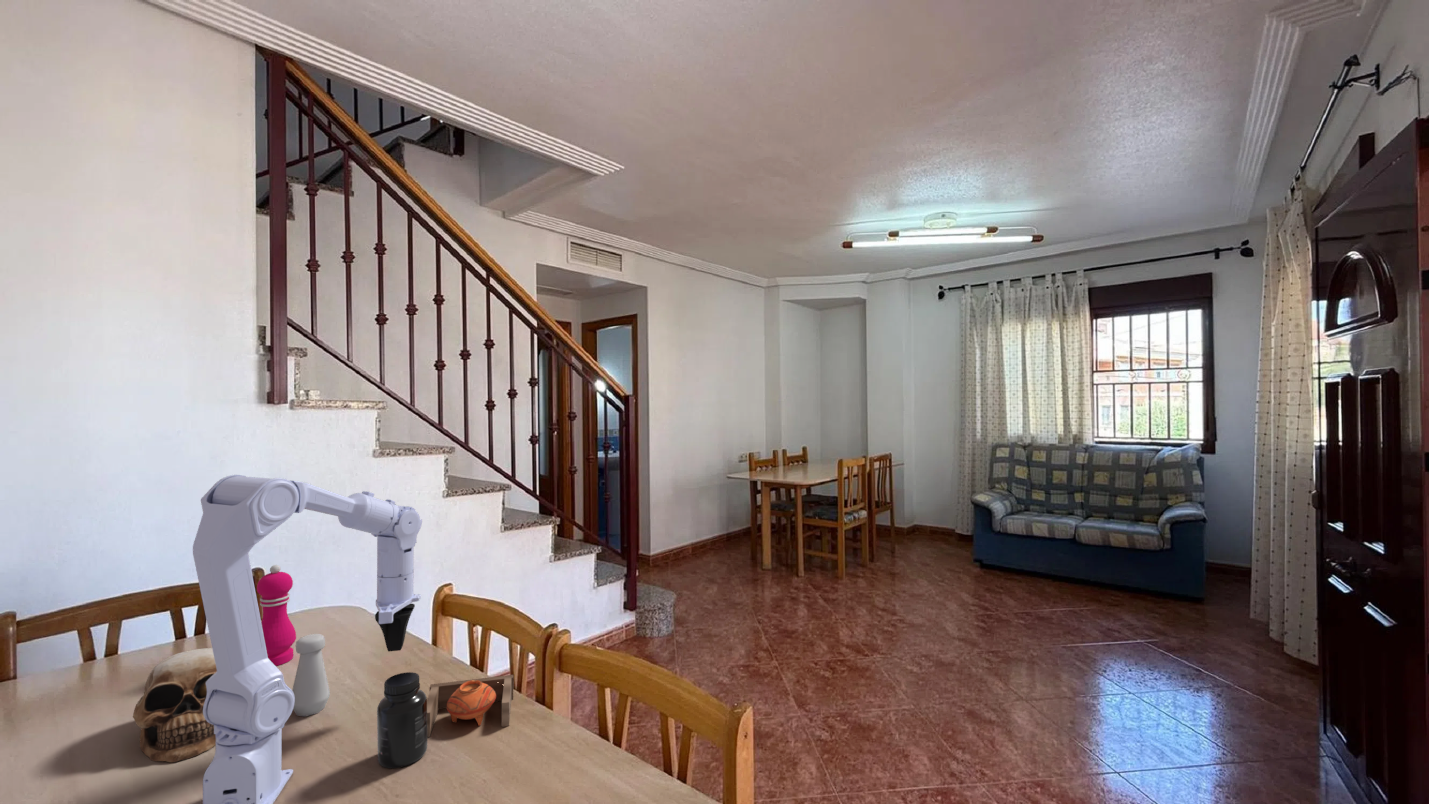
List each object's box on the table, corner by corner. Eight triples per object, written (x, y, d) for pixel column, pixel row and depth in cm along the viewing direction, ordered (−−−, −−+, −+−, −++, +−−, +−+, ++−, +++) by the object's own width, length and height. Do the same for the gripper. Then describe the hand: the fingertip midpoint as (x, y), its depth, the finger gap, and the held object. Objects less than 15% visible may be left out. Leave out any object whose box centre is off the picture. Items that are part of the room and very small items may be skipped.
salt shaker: (309, 721, 101) (309, 644, 101) (281, 717, 102) (281, 641, 102) (337, 703, 107) (337, 631, 106) (310, 700, 108) (310, 628, 108)
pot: (508, 714, 103) (501, 680, 102) (466, 744, 97) (458, 708, 96) (484, 697, 108) (476, 665, 107) (442, 725, 102) (434, 691, 101)
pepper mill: (258, 657, 125) (258, 562, 125) (299, 651, 128) (299, 558, 128) (248, 671, 118) (248, 571, 118) (291, 665, 121) (292, 567, 121)
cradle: (510, 725, 100) (511, 701, 100) (419, 738, 96) (419, 713, 96) (513, 696, 110) (513, 674, 110) (430, 706, 106) (430, 684, 106)
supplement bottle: (415, 738, 96) (415, 664, 96) (435, 754, 92) (435, 677, 92) (369, 757, 91) (369, 679, 91) (388, 776, 87) (388, 694, 86)
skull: (178, 765, 88) (175, 674, 89) (95, 760, 92) (92, 672, 93) (279, 714, 103) (275, 637, 104) (203, 711, 108) (200, 637, 108)
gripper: (412, 583, 99) (411, 664, 99) (427, 560, 113) (427, 631, 113) (364, 587, 97) (364, 669, 97) (386, 563, 111) (385, 635, 111)
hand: (395, 649), depth 105 cm, fingers closed
